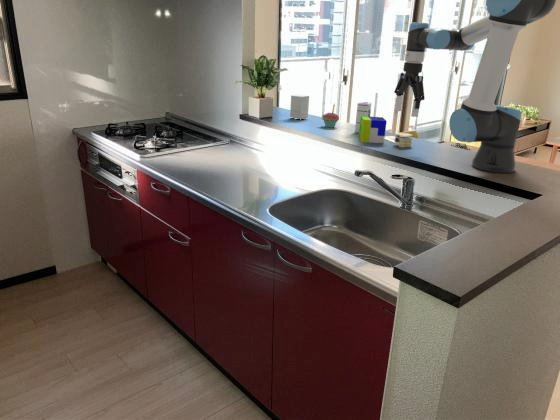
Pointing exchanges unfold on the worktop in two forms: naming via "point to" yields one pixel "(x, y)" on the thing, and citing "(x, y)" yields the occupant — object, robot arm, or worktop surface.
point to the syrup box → (362, 113)
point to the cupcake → (330, 118)
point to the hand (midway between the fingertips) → (405, 113)
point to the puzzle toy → (372, 129)
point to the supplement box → (299, 106)
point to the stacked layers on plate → (403, 139)
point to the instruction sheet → (390, 138)
